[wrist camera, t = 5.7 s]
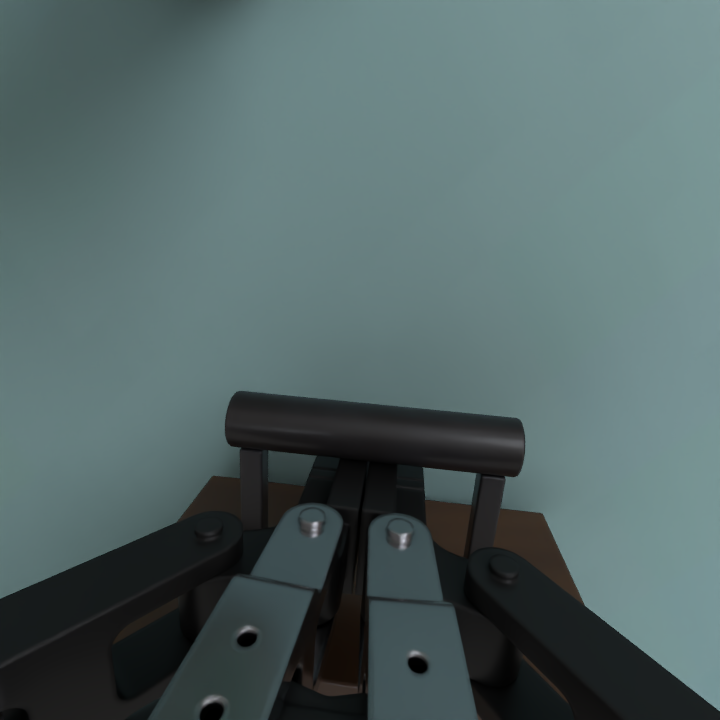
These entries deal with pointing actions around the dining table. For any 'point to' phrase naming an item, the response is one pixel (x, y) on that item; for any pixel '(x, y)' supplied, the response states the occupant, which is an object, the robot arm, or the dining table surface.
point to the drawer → (384, 445)
